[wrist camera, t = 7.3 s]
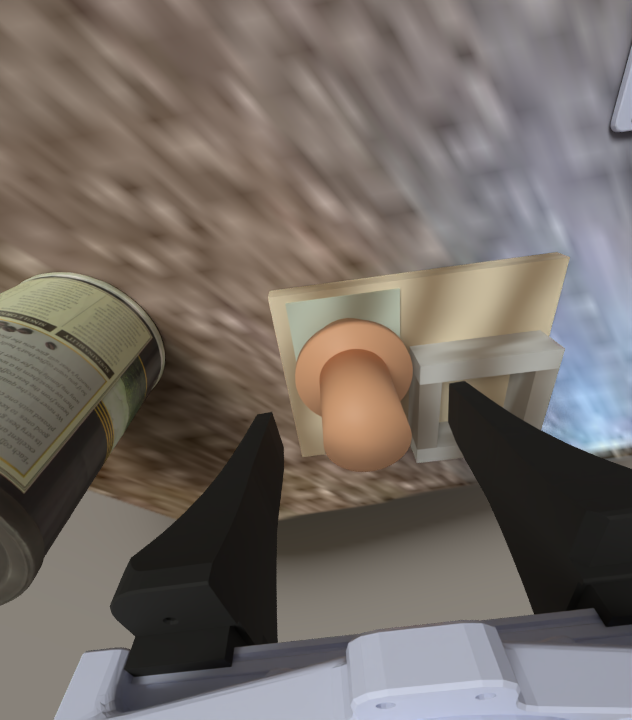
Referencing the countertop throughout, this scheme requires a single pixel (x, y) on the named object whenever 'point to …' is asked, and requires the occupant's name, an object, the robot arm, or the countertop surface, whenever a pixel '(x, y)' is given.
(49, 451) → the coffee can
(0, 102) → the countertop surface
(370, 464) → the end cover
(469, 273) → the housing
